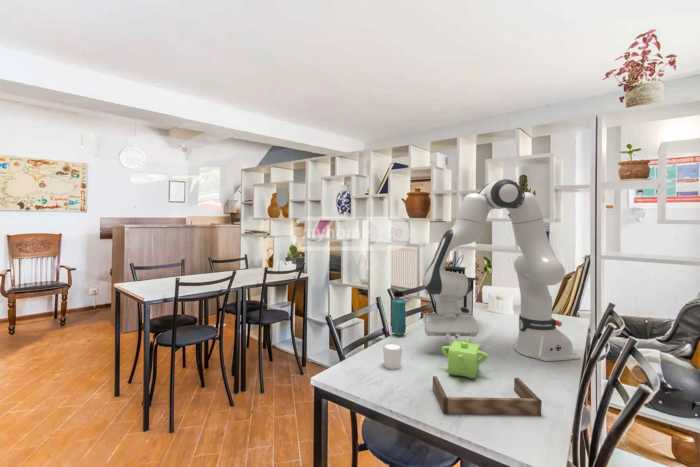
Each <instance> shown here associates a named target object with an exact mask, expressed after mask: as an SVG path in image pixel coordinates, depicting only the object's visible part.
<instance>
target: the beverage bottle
mask: <svg viewBox="0 0 700 467" xmlns="http://www.w3.org/2000/svg"><path fill="white" fill-rule="evenodd" d="M393 296H394V298H393V299H392V300H391V315H390V316H391V322H390V323H391V325H390V328H391V329H390V330H391V333H393V334H395V335H404V334H405V333H406V329H407V328H406V327H407V326H406V314H407V313H406V301H407V300H405V299H404V298H402V297H404V292H403V291H402V290H395V291H393Z"/></svg>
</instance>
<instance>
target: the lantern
mask: <svg viewBox="0 0 700 467" xmlns="http://www.w3.org/2000/svg"><path fill="white" fill-rule="evenodd" d="M460 259H461V260H460ZM463 259H464V255H461V256H460V257H459V258H458V259H457V260H456V262H455V264H454V266H453V265H447V266H446V267H445V266H444V271H449V272H455V273H460V274H464V275H466V269H467V267H466V266H465V267H464V266H461V264H462V262H463V261H464V260H463ZM459 260H460V262H459ZM458 262H459V265H458V266H456V265H457V263H458ZM467 277H468V276H467ZM468 279H469V282H470V292H469V293H468V294H467V295H466V296H465V297H463V298H462V299H461V300H458V301H457V304H458V305H459V306H461V307H465V308H468V309H471V311H472V314H471V315H472V316H473V313H474V310H473V309H474V307H473V306H474V284H475V283H474V282H475V280H477V279H478V277H468ZM434 313H437V310H436V301H435V300H434ZM473 317H474V316H473Z"/></svg>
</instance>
